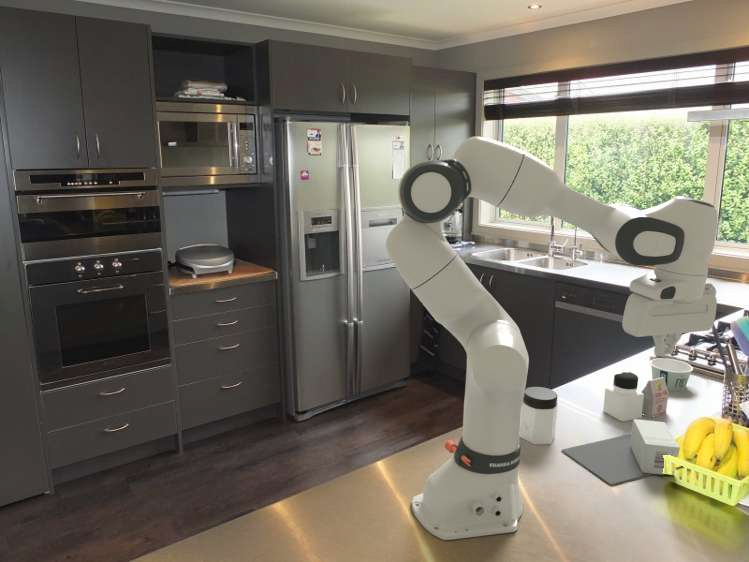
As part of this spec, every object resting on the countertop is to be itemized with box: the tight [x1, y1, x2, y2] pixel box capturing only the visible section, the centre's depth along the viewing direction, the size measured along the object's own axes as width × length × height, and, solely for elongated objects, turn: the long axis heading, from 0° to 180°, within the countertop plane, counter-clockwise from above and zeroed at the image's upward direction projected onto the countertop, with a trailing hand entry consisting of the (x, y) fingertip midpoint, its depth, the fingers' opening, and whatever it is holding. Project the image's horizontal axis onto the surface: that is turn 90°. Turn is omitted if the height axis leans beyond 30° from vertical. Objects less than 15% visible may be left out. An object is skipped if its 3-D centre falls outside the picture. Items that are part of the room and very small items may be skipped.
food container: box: [649, 357, 694, 391], centre depth 182 cm, size 12×12×6 cm
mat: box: [561, 433, 654, 487], centre depth 138 cm, size 22×16×1 cm
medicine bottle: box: [602, 370, 644, 423], centre depth 160 cm, size 7×7×12 cm
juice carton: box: [640, 377, 669, 419], centre depth 162 cm, size 4×7×10 cm, turn 119°
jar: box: [519, 386, 558, 445], centre depth 147 cm, size 9×8×12 cm
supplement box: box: [630, 418, 681, 476], centre depth 136 cm, size 7×7×13 cm
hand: (662, 353), depth 113 cm, fingers closed
